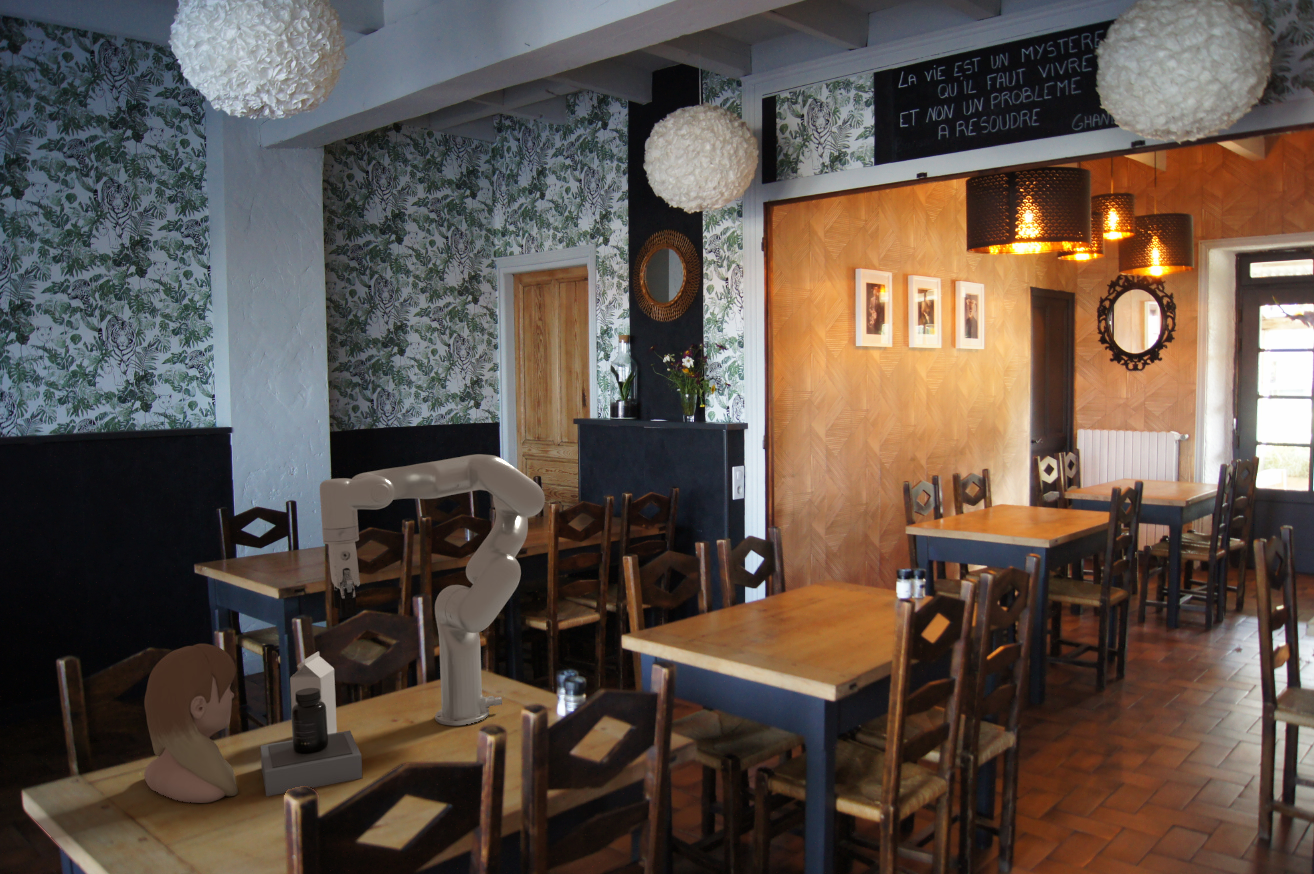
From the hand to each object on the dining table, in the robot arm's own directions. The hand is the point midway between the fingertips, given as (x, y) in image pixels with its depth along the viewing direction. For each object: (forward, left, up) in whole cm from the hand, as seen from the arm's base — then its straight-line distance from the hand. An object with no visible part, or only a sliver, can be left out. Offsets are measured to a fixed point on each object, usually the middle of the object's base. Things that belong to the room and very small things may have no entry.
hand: (345, 611), depth 211 cm
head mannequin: (+31, +8, -30) cm, 44 cm away
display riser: (+10, +13, -30) cm, 34 cm away
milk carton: (+7, -8, -30) cm, 32 cm away
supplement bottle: (+10, +13, -25) cm, 30 cm away
